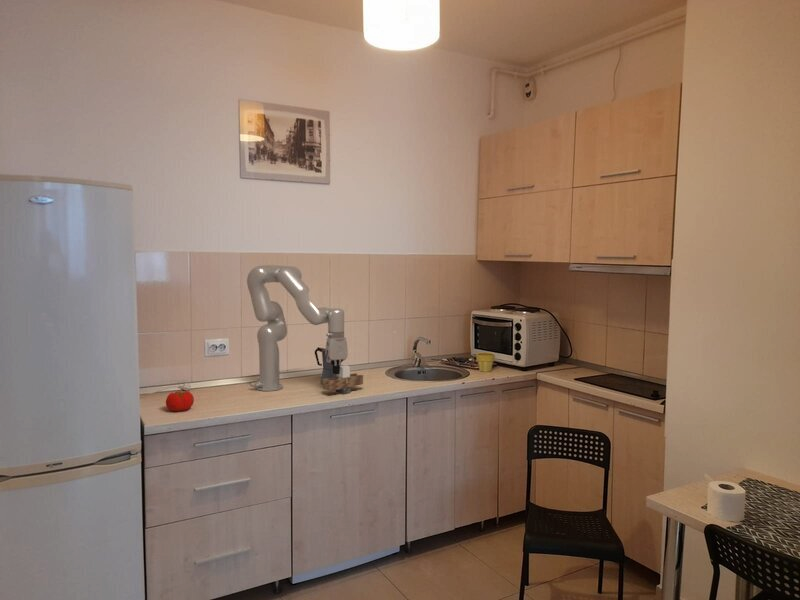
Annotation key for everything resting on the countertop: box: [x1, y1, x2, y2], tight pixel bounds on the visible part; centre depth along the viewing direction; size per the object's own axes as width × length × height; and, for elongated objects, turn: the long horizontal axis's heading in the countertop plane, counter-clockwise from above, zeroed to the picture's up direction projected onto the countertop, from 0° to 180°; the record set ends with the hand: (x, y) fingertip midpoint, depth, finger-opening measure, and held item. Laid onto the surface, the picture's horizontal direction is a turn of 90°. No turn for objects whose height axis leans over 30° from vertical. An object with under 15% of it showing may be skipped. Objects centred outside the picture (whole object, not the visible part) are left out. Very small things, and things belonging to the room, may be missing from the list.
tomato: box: [165, 390, 195, 413], centre depth 229 cm, size 11×11×8 cm
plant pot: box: [476, 352, 496, 373], centre depth 313 cm, size 10×10×10 cm
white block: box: [337, 364, 351, 379], centre depth 260 cm, size 4×5×7 cm
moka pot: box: [314, 346, 337, 384], centre depth 278 cm, size 10×15×20 cm, turn 78°
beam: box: [321, 372, 364, 395], centre depth 260 cm, size 20×6×7 cm, turn 134°
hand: (336, 373), depth 257 cm, fingers closed
